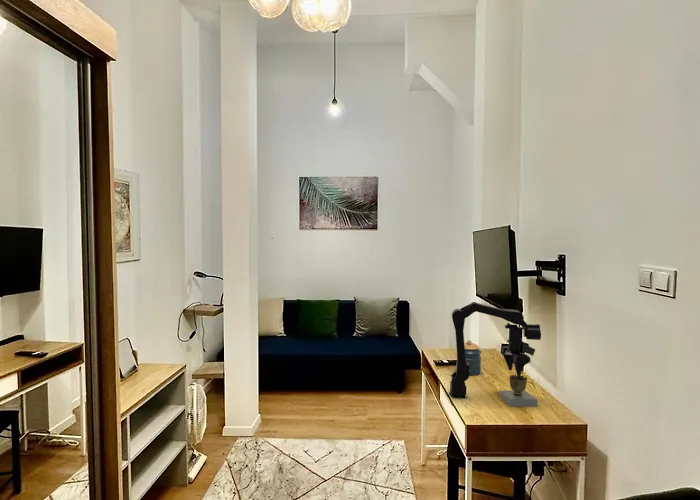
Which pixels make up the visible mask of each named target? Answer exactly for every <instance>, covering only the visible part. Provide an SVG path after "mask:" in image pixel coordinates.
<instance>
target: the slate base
mask: <svg viewBox="0 0 700 500" xmlns="http://www.w3.org/2000/svg"><path fill="white" fill-rule="evenodd" d="M513 392H514V391H513V390H499V398H500V399H501V400H502V401H503V402H504V403H506V405H507V406H509V407H511V408H512V407H513V408H514V407H526V408H527V407H531V408H532V407H533V408H534V407H535V408H537V407H538V402H539V401H538V399H537V398H536V397H535V396H534V395H532V394H530V393H529V392H528V391H527V390H526V389H525V390H524V391H523V392H522V395H520V396H518V395H515V394H514V393H513Z"/></svg>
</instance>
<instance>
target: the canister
mask: <svg viewBox="0 0 700 500" xmlns="http://www.w3.org/2000/svg"><path fill="white" fill-rule="evenodd" d="M464 347H465V360H466V363H467V362H469V364H470V374H471V375H470V374H469V376H478V375H481V372H482V366H481V365H482V357H481V354H482V351H481V350H480V348H481V347H480V346H479V345H478V344H476V343H473V342H472V340H469V339H468V340H467V341H466V342H464Z"/></svg>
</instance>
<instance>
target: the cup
mask: <svg viewBox="0 0 700 500" xmlns="http://www.w3.org/2000/svg"><path fill="white" fill-rule="evenodd" d="M527 382H528V377H527V376H525V377H524V375H522V374H521V375H520V376H517V374H515V375H514V374H511V375H509V386H510V388H511V391H514V392H513V393H514V394H515V395H518V396H520V395H522V392H523V391H524V390H525V391H526V388H527Z"/></svg>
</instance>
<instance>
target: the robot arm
mask: <svg viewBox="0 0 700 500" xmlns="http://www.w3.org/2000/svg"><path fill="white" fill-rule="evenodd" d="M475 312H476V313H477V312H478V313H481V314H485V315H489V316H492V317H496V318H500V319H502V320H505V321H507V323H506V324H505V325H504V328H505V329H508V339H507V340H506V342H507V343H508V345H503V346H502V347H500V352H501V355H502V357H503V359H504V361H505V363H506V366H507V368H508V370H509V371H512V370H513V366H514V369H515V373H516V376H520V375H521V376H522V372H523V370H524V367H525V366H526V365H528V364H529V363H531V356H532V357H533V356H534V355H535V352H536V349H535V348H534V347H532V346H530V344H529V343H527V342H525V341H523V338H525V339H526V340H530V341H531V340H532V341H533V340H534V341H540V340H542V339H541V338H542V332H541V325H540V324H530V323H529V324H528V323H527V321H525V320H524V319H525V317H524V315H523V313H522V312H520V311H519V310H517V309H508V308H507V309H506V308H505V309H504V308H499V307H495V306H491V305H486V304H483V303H479V302H476V301H473V302H470V303H469V304H467V305H465V306H463V307H461V308H456V309H454V310H453V311H452V312H451V319H452V323H453V326H454V331H455V344H456V345H455V346H456V365H455V371H454V372H453V373H452V374H451V375H450V377H451V379H450V381H449V392H448V394H449V396H450V397H451V398H453V399H458V398H460V399H462V398H463V399H466V398H467V386H466V381H468V379H470V376H472V375H471V374H470V364H469V362H467V363H466V360H465V347H464V343H465V336H464V334H465V333H464V328H465V322H466V321H465V320H466V318H468V317H470V316H471V315H472V314H474V313H475ZM518 325H519V326H518ZM527 354H528V355H527ZM529 355H530V356H529ZM469 374H470V375H469Z"/></svg>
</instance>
